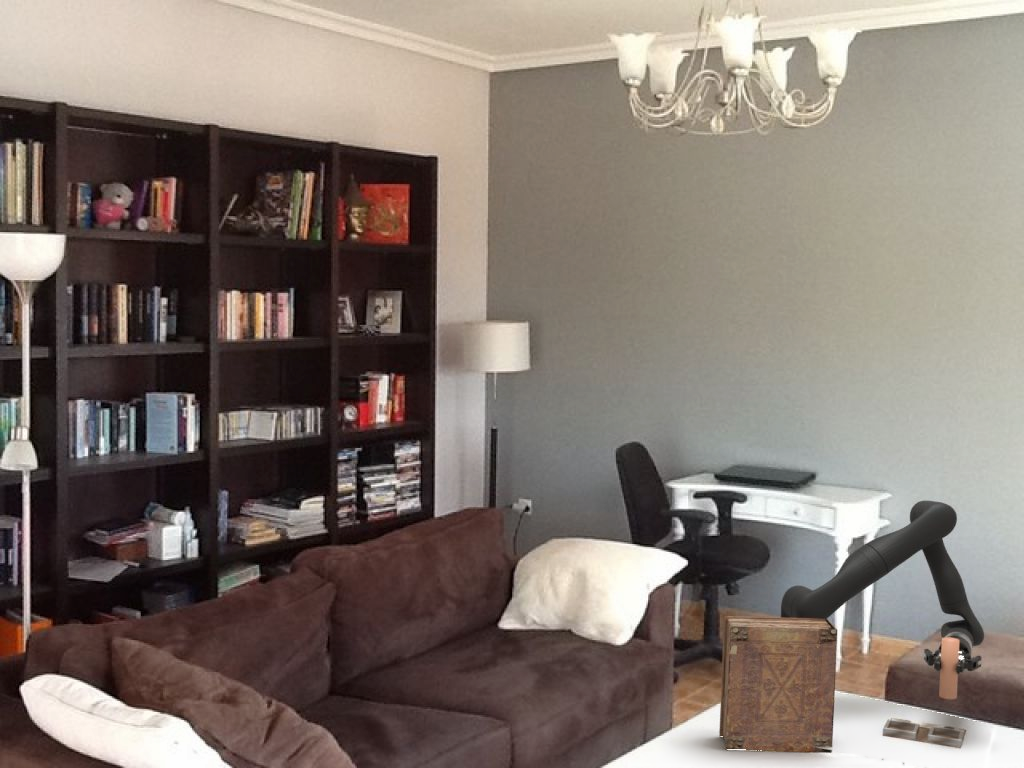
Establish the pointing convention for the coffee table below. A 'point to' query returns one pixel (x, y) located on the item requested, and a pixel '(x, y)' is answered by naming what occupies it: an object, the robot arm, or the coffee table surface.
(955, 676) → the terracotta pin
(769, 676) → the book
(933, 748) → the coffee table surface
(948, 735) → the walnut socket board
